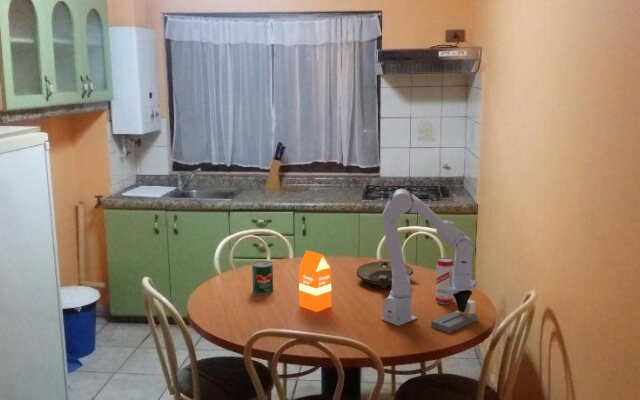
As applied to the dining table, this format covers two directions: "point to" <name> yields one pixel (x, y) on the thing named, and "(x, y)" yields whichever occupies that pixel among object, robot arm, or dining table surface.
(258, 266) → the canned tomato
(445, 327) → the fader deck
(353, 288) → the dining table surface
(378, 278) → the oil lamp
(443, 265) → the beer can
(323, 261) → the orange juice
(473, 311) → the fader knob
